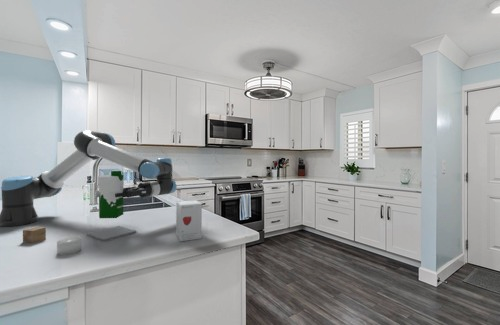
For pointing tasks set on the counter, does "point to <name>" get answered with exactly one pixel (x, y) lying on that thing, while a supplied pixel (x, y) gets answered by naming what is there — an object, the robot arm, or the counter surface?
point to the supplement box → (188, 220)
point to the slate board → (111, 233)
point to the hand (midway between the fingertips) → (100, 195)
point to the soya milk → (106, 185)
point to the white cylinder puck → (68, 246)
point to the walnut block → (34, 234)
